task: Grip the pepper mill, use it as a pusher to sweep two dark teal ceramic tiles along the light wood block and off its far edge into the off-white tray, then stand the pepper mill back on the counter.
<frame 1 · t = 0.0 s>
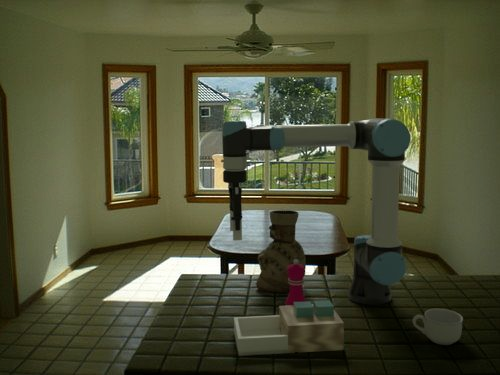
hand: (235, 235, 177), 28 cm above the counter, tool pointing down, fingers open, 13 cm apart
teacup: (436, 340, 162), on the counter
tile rear: (323, 313, 162), point 8 cm above the counter, touching light wood block
light wood block: (309, 339, 163), on the counter
ceramic vessel: (281, 289, 210), on the counter
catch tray: (259, 342, 162), on the counter
tile front: (303, 314, 162), point 8 cm above the counter, touching light wood block
pepper mill: (296, 319, 180), on the counter
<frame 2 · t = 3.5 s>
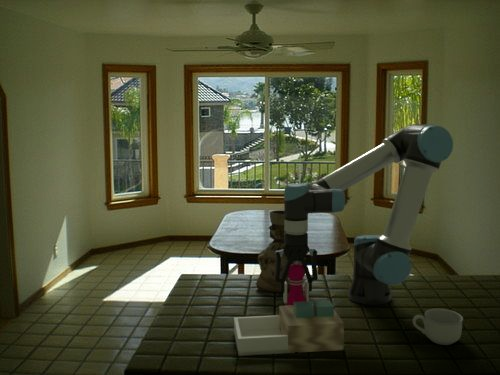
hand: (296, 301, 179), 6 cm above the counter, tool pointing down, fingers closed on pepper mill, 6 cm apart
pepper mill: (296, 319, 180), on the counter, touching gripper
everything else where it was.
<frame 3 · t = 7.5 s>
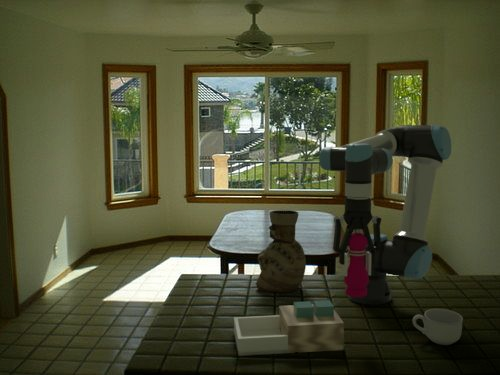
hand: (356, 274, 162), 20 cm above the counter, tool pointing down, fingers closed on pepper mill, 6 cm apart
pepper mill: (356, 294, 162), point 13 cm above the counter, touching gripper
everything else where it was.
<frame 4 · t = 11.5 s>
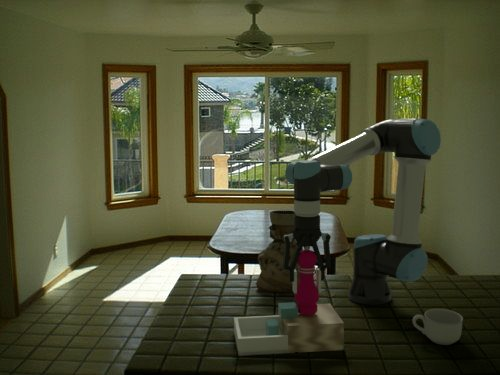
hand: (306, 291, 161), 15 cm above the counter, tool pointing down, fingers closed on pepper mill, 6 cm apart
tile rear: (288, 315, 161), point 8 cm above the counter, touching light wood block, pepper mill
tile front: (277, 330, 162), point 3 cm above the counter, tilted 90°, touching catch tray
pepper mill: (306, 311, 162), point 9 cm above the counter, touching gripper, tile rear
everything else where it was.
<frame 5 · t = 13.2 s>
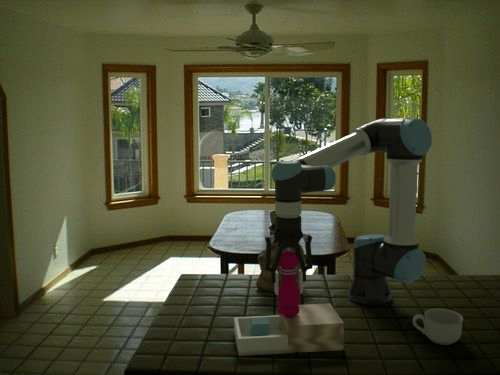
hand: (288, 292, 160), 15 cm above the counter, tool pointing down, fingers closed on pepper mill, 6 cm apart
tile rear: (260, 330, 160), point 4 cm above the counter, touching tile front
tile front: (258, 329, 161), point 4 cm above the counter, tilted 180°, touching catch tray, tile rear
pepper mill: (288, 312, 161), point 9 cm above the counter, touching gripper
everything else where it was.
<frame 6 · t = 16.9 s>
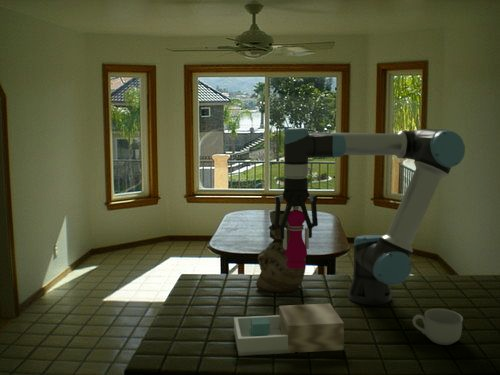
hand: (295, 248, 176), 24 cm above the counter, tool pointing down, fingers closed on pepper mill, 6 cm apart
pepper mill: (295, 266, 177), point 18 cm above the counter, touching gripper
everything else where it was.
when the fingers open (7 cm above the counter, at t = 20.0 s): pepper mill drops 1 cm, on the counter.
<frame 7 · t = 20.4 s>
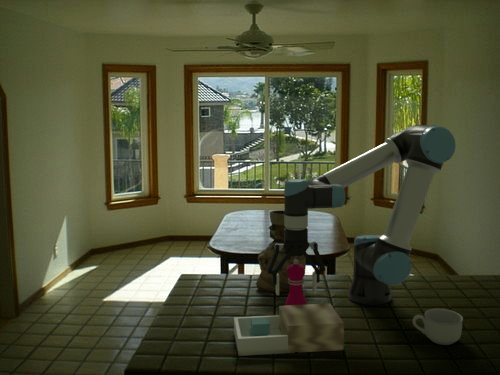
hand: (296, 293, 179), 9 cm above the counter, tool pointing down, fingers open, 11 cm apart
pepper mill: (296, 319, 180), on the counter
everything else where it was.
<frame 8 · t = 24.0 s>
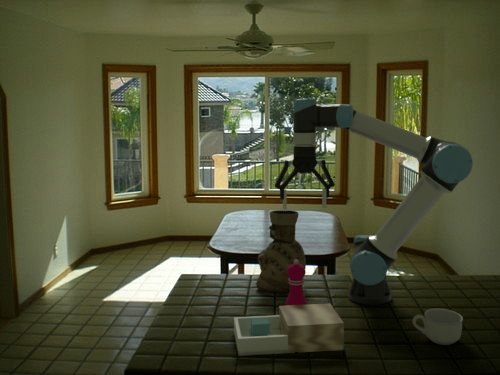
hand: (304, 208, 186), 35 cm above the counter, tool pointing down, fingers open, 13 cm apart
nothing on the counter moved.
at the end: tile front inside the target area on the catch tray (0.9 cm from its centre), point 4.0 cm above the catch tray's base; tile rear inside the target area on the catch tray (0.9 cm from its centre), point 4.0 cm above the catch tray's base; pepper mill tilted 0° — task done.
